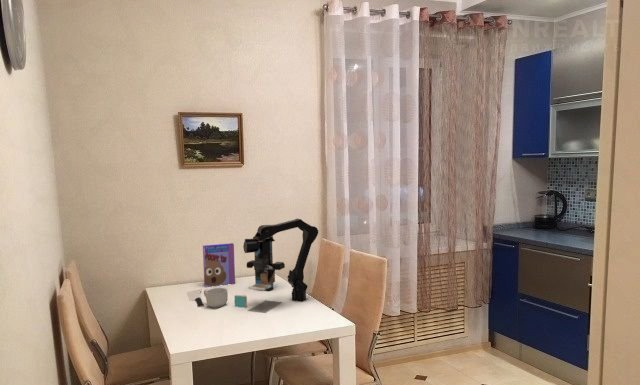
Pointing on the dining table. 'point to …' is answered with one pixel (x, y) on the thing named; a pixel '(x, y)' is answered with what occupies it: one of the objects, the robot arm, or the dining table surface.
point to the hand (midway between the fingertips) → (266, 282)
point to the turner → (264, 282)
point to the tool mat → (264, 306)
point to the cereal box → (218, 264)
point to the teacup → (216, 297)
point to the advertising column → (257, 277)
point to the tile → (240, 301)
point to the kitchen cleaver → (195, 297)
